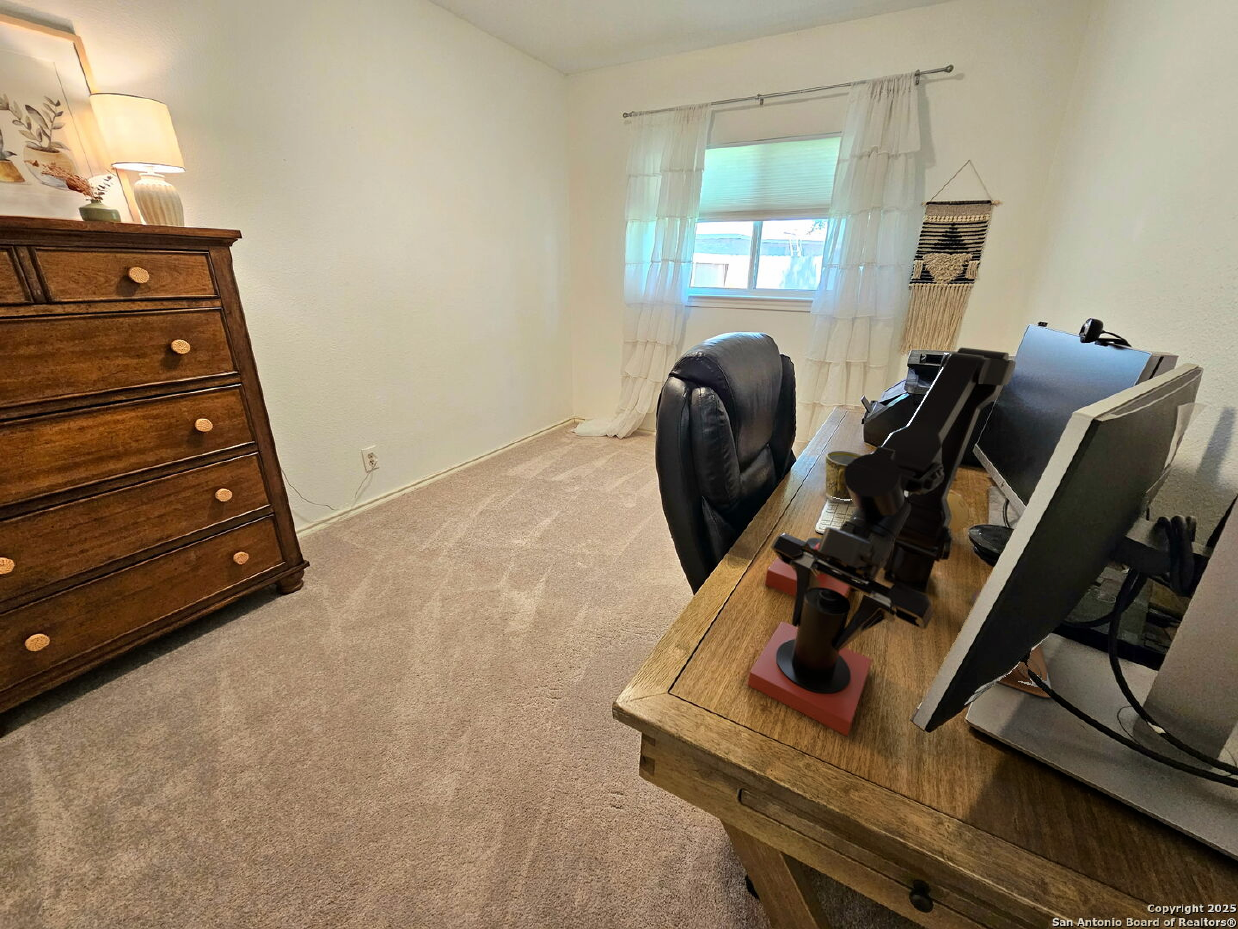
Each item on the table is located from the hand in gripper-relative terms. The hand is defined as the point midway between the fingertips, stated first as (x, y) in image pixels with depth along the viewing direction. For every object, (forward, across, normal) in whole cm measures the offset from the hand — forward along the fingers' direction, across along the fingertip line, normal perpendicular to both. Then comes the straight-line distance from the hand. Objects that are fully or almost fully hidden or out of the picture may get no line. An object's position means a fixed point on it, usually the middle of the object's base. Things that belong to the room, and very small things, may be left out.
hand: (814, 637), depth 59 cm
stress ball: (-34, -2, +46) cm, 57 cm away
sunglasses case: (-15, +16, +26) cm, 34 cm away
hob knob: (-12, -10, +19) cm, 25 cm away
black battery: (+3, 0, +5) cm, 5 cm away
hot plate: (+4, 0, +6) cm, 8 cm away
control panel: (-9, -10, +20) cm, 24 cm away
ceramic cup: (-34, -22, +46) cm, 61 cm away
